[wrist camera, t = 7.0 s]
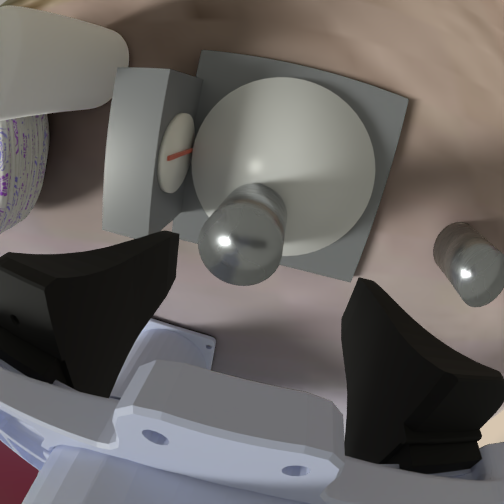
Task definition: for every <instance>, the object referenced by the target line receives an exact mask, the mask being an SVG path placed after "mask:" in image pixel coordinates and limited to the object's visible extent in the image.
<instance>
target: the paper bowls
mask: <svg viewBox="0 0 504 504" xmlns="http://www.w3.org/2000/svg"><path fill="white" fill-rule="evenodd" d="M48 150H49V122H48V117H47V114H41V115H33V116H27V117H20V118H14V119H8V120H3V121H0V234H1V233H2V232H4V231H6V230H8V229H10V228H12V227H13V226H15V225H16V224H17V223H19V222H20V221H22V220H23V219H25V218H26V217H27V215H28V214H29V213H30V211H31V210H32V209H33V207H34V205H35V204H36V201H37V199H38V197H39V194H40V192H41V188H42V185H43V179H44V175H45V170H46V163H47V155H48Z"/></svg>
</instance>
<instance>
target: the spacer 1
mask: <svg viewBox="0 0 504 504" xmlns="http://www.w3.org/2000/svg"><path fill="white" fill-rule="evenodd" d="M286 223H287V210H286V206H285V203H284V201H283V200H282V198H281V197H280V195H279V194H278V193H277V192H275V191H274V190H273V189H271V188H269V187H267V186H265V185H262V184H253V183H252V184H245V185H242V186H240V187H238V188H236V189H235V190H233V191H232V192H231V193H230V194H229V195H228V196H227V197H226V199H225V200H224V201H223V202H222V203H221V204H220V205H219V207H218V208H217V209H216V210H215V211H214V212H213V214H212V215H211V216H210V217H209V218H208V219H207V221H206V222H205V223H204V225H203V226H202V228H201V231H200V234H199V239H198V248H199V253H200V256H201V259H202V261H203V263H204V264H205V266H206V267H207V269H208V270H209V271H210V272H211V273H212V274H213V275H214V276H216V277H217V278H219V279H220V280H222V281H224V282H227V283H230V284H233V285H239V286H249V285H254V284H258V283H260V282H262V281H264V280H266V279H268V278H269V277H270V276H271V275H272V274H273V273H274V272H275V271H276V269H277V268H278V266H279V264H280V261H281V258H282V252H283V245H284V238H285V231H286Z"/></svg>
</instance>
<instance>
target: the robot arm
mask: <svg viewBox="0 0 504 504" xmlns="http://www.w3.org/2000/svg"><path fill="white" fill-rule="evenodd" d="M178 245H179V234H178V233H174V232H170V231H160V232H156V233H153V234H149V235H146V236H143V237H140V238H137V239H134V240H131V241H127V242H124V243H120V244H117V245H113V246H109V247H105V248H101V249H96V250H91V251H85V252H76V253H67V254H23V253H12V252H8V253H6V254H4V255H3V256H1V257H0V440H1V441H2V442H3V443H5V444H6V445H7V446H8V447H9V448H11V449H12V450H13V451H14V452H16V453H17V454H18V455H19V456H21V457H22V458H23V459H24V460H26V461H27V462H28V463H30V464H31V465H33V466H34V467H35V468H37V469H38V470H39V473H38V476H37V477H36V479H35V481H34V483H33V485H32V486H31V488H30V490H29V492H28V494H27V495H26V497H25V499H24V501H23V502H22V504H504V442H500V443H494V444H488V445H485V446H483V447H481V448H479V446H478V443H477V441H479V440H480V439H481V437H482V435H481V432H480V428H481V427H482V426H483V425H484V424H485V423H486V422H487V421H488V420H489V419H490V418H491V417H492V416H493V415H494V414H495V413H496V412H497V410H498V409H499V408H500V407H501V405H502V404H503V402H504V378H503V376H502V375H501V373H500V372H499V371H497V370H494V369H492V368H489V367H487V366H485V365H482V364H480V363H478V362H475V361H473V360H472V359H470V358H468V357H466V356H464V355H462V354H460V353H459V352H457V351H455V350H454V349H452V348H450V347H449V346H447V345H446V344H444V343H443V342H441V341H440V340H438V339H437V338H436V337H434V336H433V335H432V334H430V333H429V332H428V331H427V330H425V329H424V328H423V327H422V326H420V325H419V324H418V323H417V322H416V321H415V320H414V319H413V318H412V317H410V316H409V315H408V314H407V313H406V312H405V311H404V310H403V309H402V308H401V307H400V306H399V305H398V304H397V303H396V302H395V301H394V300H393V299H392V298H391V297H390V296H389V295H388V294H387V293H386V292H385V291H384V290H383V289H382V288H381V287H380V286H379V285H378V284H376V283H375V282H374V281H372V280H367V279H363V278H358V281H357V283H356V286H355V288H354V290H353V293H352V295H351V298H350V300H349V303H348V305H347V307H346V310H345V312H344V314H343V316H342V323H341V340H342V349H343V356H344V364H345V372H346V380H347V419H346V433H345V441H344V425H343V414H342V413H341V412H340V411H339V409H338V408H337V407H336V406H335V404H334V403H333V402H332V401H330V400H327V399H324V398H321V397H319V396H316V395H313V394H311V393H308V392H304V391H298V390H293V389H288V388H283V387H278V386H273V385H269V384H264V383H260V382H255V381H251V380H247V379H242V378H238V377H234V376H230V375H226V374H223V373H219V372H215V371H211V367H212V362H213V356H214V351H215V345H216V340H215V338H213V337H211V336H208V335H204V334H201V333H197V332H194V331H191V330H187V329H184V328H181V327H177V326H174V325H171V324H168V323H164V322H161V321H158V320H155V319H152V318H151V317H152V316H153V315H154V313H155V312H156V310H157V309H158V308H159V306H160V305H161V303H162V302H163V300H164V299H165V298H166V296H167V294H168V292H169V290H170V288H171V286H172V284H173V282H174V280H175V278H176V267H177V255H178ZM208 345H210V346H208Z"/></svg>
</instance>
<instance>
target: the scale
mask: <svg viewBox="0 0 504 504" xmlns="http://www.w3.org/2000/svg"><path fill="white" fill-rule="evenodd" d="M408 100H409V99H407V98H404V97H402V96H399V95H397V94H394V93H391V92H389V91H386V90H383V89H380V88H378V87H375V86H372V85H369V84H366V83H363V82H360V81H357V80H353V79H350V78H347V77H344V76H340V75H337V74H333V73H329V72H326V71H322V70H318V69H314V68H310V67H306V66H302V65H297V64H293V63H288V62H283V61H278V60H273V59H268V58H262V57H256V56H250V55H243V54H236V53H228V52H220V51H211V50H202V51H201V56H200V60H199V65H198V69H197V74H196V77H194V76H191V75H188V74H185V73H181V72H178V71H175V70H172V69H161V68H136V67H117V72H116V78H115V83H114V89H113V96H112V102H111V109H110V117H109V125H108V134H107V143H106V155H105V168H104V185H103V219H102V230H105V231H109V232H112V233H116V234H119V235H123V236H127V237H130V238H134V239H137V238H140V237H143V236H146V235H149V234H153V233H156V232H160V231H161V230H162V229H163V228H164V227H165V226H166V225H167V224H168V223H170V222H171V221H172V220H173V227H172V232H174V233H178V234H179V239H181V240H184V241H188V242H192V243H196V244H198V239H199V234H200V231H201V228H202V226H203V225H204V223H205V222H206V221H207V219H208V218H209V217H210V216H211V215H212V214H213V212H214V211H215V210H216V209H217V208H218V207H219V205H220V204H221V203H222V202H223V201H224V200H225V199H226V197H227V196H228V195H229V194H230V193H231V192H232V191H233V190H235V189H236V188H238V187H240V186H242V185H245V184H252V183H253V184H262V185H265V186H267V187H269V188H271V189H273V190H274V191H275V192H277V193H278V194H279V195H280V197H281V198H282V200H283V201H284V203H285V206H286V210H287V223H286V231H285V238H284V245H283V252H282V258H281V261H280V264H279V265H283V266H287V267H291V268H295V269H299V270H303V271H307V272H311V273H315V274H319V275H323V276H327V277H331V278H335V279H339V280H343V281H347V282H351V280H352V278H353V275H354V272H355V270H356V267H357V265H358V262H359V260H360V257H361V254H362V252H363V249H364V246H365V244H366V241H367V238H368V235H369V233H370V230H371V227H372V224H373V221H374V218H375V216H376V213H377V210H378V207H379V204H380V201H381V198H382V194H383V191H384V188H385V185H386V182H387V179H388V175H389V172H390V169H391V165H392V162H393V158H394V155H395V151H396V148H397V144H398V140H399V137H400V133H401V129H402V125H403V121H404V117H405V113H406V109H407V105H408Z"/></svg>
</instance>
